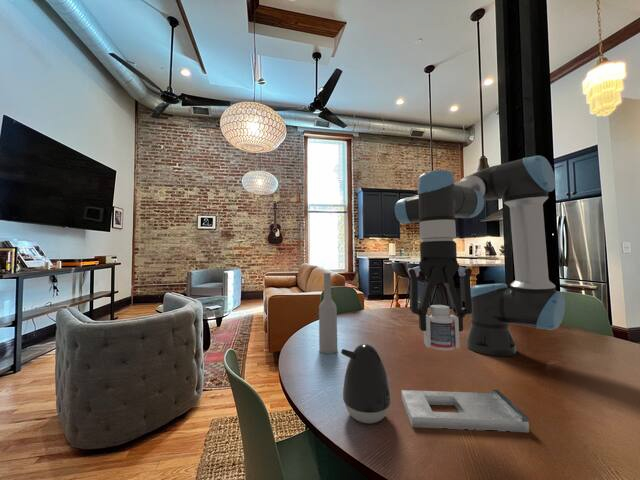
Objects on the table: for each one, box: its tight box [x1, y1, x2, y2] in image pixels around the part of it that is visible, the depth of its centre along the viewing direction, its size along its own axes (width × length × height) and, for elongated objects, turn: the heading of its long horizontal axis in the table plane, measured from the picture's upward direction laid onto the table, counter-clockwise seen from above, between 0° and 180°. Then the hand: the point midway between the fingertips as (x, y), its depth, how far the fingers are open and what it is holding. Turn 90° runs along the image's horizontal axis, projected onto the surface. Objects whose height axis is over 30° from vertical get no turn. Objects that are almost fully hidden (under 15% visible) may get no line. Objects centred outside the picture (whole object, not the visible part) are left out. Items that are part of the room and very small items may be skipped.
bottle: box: [318, 272, 338, 355], centre depth 101 cm, size 7×7×28 cm
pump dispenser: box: [340, 343, 392, 424], centre depth 60 cm, size 10×10×15 cm
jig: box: [401, 389, 530, 434], centre depth 60 cm, size 22×11×3 cm, turn 84°
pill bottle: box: [428, 304, 455, 351], centre depth 61 cm, size 5×5×9 cm
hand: (441, 345), depth 61 cm, fingers closed on pill bottle, 5 cm apart
